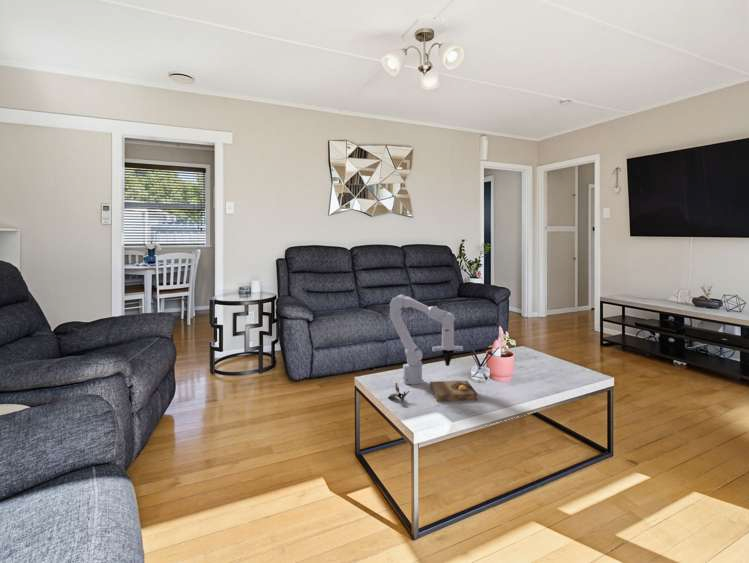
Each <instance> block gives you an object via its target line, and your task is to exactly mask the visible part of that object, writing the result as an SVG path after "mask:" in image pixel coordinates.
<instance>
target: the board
mask: <svg viewBox="0 0 749 563" xmlns="http://www.w3.org/2000/svg"><path fill="white" fill-rule="evenodd" d="M460 385H465V386H466V387H467V389H463V390H461V389H458V388H459V386H460ZM429 389H430V390H432V391H431V393H432V392H433V393H432V395H433V394H434V395H433V396H434V398H435V400H436V402H455V401H456V402H460V401H461V402H462V401H478V393H477V391H476V390H475V389H474V387H473V386H472V384H470V382H469V381H468V380H444V381H443V380H442V381H440V380H439V381H430V382H429Z"/></svg>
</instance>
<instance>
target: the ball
mask: <svg viewBox="0 0 749 563" xmlns="http://www.w3.org/2000/svg"><path fill="white" fill-rule="evenodd" d="M458 389H461V390H463V389H467V387H466V386H465V385H460V386H459V388H458Z"/></svg>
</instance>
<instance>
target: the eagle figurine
mask: <svg viewBox="0 0 749 563" xmlns="http://www.w3.org/2000/svg"><path fill="white" fill-rule="evenodd" d="M395 391H396V393H390V395H388V396H389V397H387V398H388V399H389V398H391V399H394V398H397V397H398V398H399V399H401V402H402V403H403V402H404V399H405V398H406V396H407V395H408V394H409V392H410V390H408V391H407V392H406V391H405V390H404V392H403V393H401V392H400V388H399V386H398V383H397V382H396V383H395Z"/></svg>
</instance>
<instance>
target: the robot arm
mask: <svg viewBox="0 0 749 563" xmlns="http://www.w3.org/2000/svg"><path fill="white" fill-rule="evenodd" d="M407 308H413V309H416V310H418V311H420V312H423V313H425V314H426V316H427V318H431V319H433V320H435V321H436V322H439V323H441V325H442V326H441V327H442V328H441V345H436V346H432V349H431V350H432V352H441V354H442V355H443V358H444V363H445V366H446V367H449V366H450V363H451V360H452V358H453V356H454V355H455V351H460V352H461V351H462V352H463V351H464V346H463V345H455V344H454V343H455V341H454V340H455V321H456V320H455V319H456V318H455V315H454V314H453V313H452V312H451V311H447V310H442V309H441V308H438V306H437V305H435V306H434V305H431V306H429V305H426V304H425V303H422V302H420V301H418V300H417V299H414V298H412V297H410V296H408V295H407V296H406V295H404V294H397V295H396V296H394V297H392V299H391V301H390V303H389V318H390V320H391V322H392V325H393V327H394V328H395V330H396V333H397V334H398V336H399V339H400V341H401V343H402V345H403V347H404V354H405V356H406V363H404V364H403V365H402V372H403V373H402V380H403V383H404V384H405V385H417V384H418V385H420V384H421V385H423V384H425V382H424V380H423V362H422V359H423V356H424V355H423V352H422V350H421V349H420V348H419V347H418V345H417V344H416V343H415V342H414V340H413V337H412V336H411V334H410V332H409V330H408V328H407V326H406V323H405V321H404V320H403V317H402V313H403V310H404V309H407Z"/></svg>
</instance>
